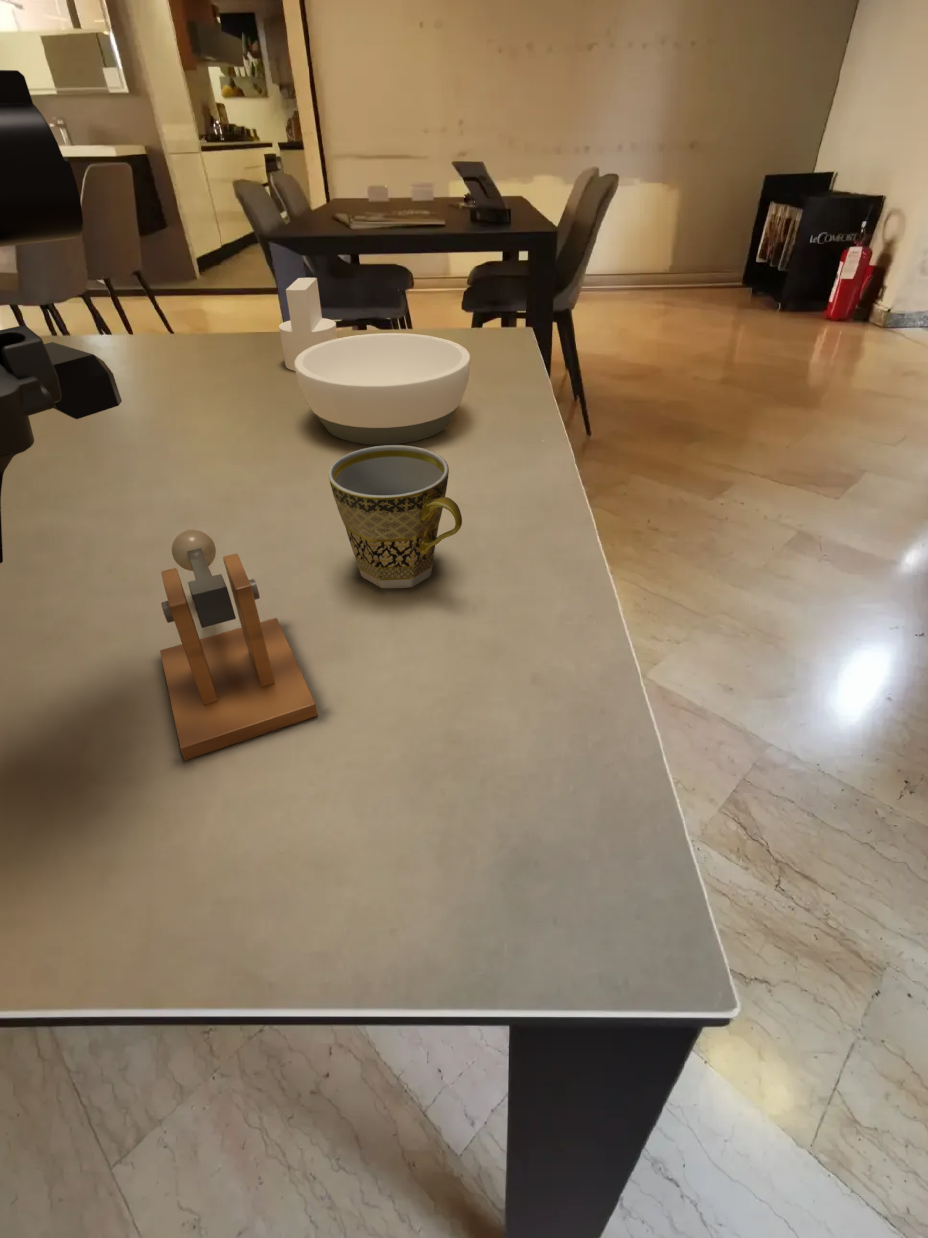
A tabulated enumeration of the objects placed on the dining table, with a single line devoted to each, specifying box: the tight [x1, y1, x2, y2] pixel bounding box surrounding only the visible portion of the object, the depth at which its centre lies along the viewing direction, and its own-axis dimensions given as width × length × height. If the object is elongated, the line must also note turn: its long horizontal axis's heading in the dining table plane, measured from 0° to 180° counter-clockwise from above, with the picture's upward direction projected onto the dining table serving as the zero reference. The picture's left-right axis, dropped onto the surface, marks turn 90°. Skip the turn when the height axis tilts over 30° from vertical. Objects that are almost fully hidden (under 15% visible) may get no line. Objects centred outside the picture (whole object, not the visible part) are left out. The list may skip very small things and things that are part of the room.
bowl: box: [294, 332, 471, 446], centre depth 88 cm, size 22×22×8 cm
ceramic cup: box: [328, 444, 463, 589], centre depth 58 cm, size 13×10×10 cm
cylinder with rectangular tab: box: [278, 277, 339, 372], centre depth 107 cm, size 9×9×12 cm
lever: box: [171, 529, 237, 629], centre depth 50 cm, size 16×3×3 cm, turn 26°
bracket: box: [159, 553, 319, 761], centre depth 46 cm, size 11×9×10 cm
